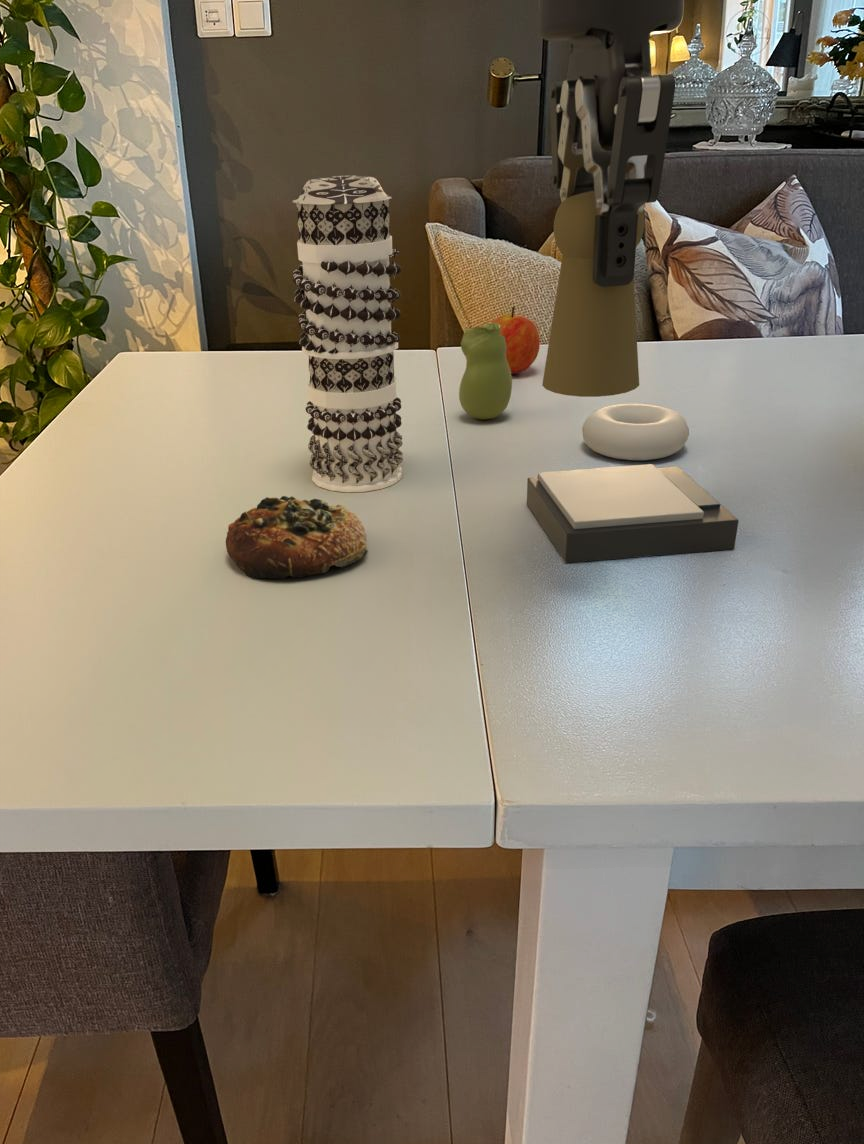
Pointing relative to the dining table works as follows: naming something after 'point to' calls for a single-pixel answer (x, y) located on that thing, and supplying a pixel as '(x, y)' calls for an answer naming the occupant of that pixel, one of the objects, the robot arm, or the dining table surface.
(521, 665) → the dining table surface
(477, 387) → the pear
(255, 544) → the bread roll
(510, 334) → the fruit
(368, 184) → the decorative candle
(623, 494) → the scale
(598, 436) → the donut
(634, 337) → the olive game pawn
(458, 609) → the dining table surface
